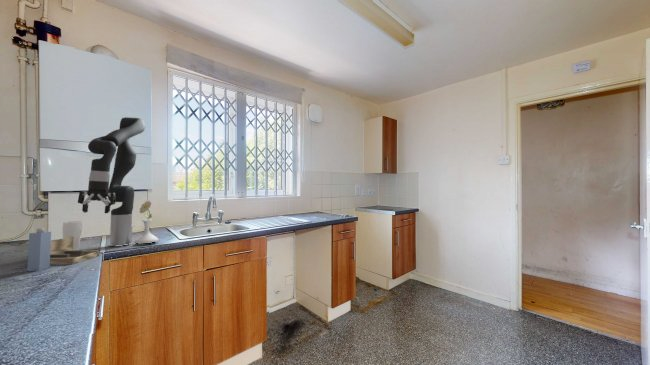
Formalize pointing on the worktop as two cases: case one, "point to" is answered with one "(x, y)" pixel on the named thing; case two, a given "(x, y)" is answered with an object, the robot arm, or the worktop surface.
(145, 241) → the flower in vase
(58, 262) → the box
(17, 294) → the worktop surface
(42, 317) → the worktop surface
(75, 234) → the drinking glass
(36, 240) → the blue square bottle
